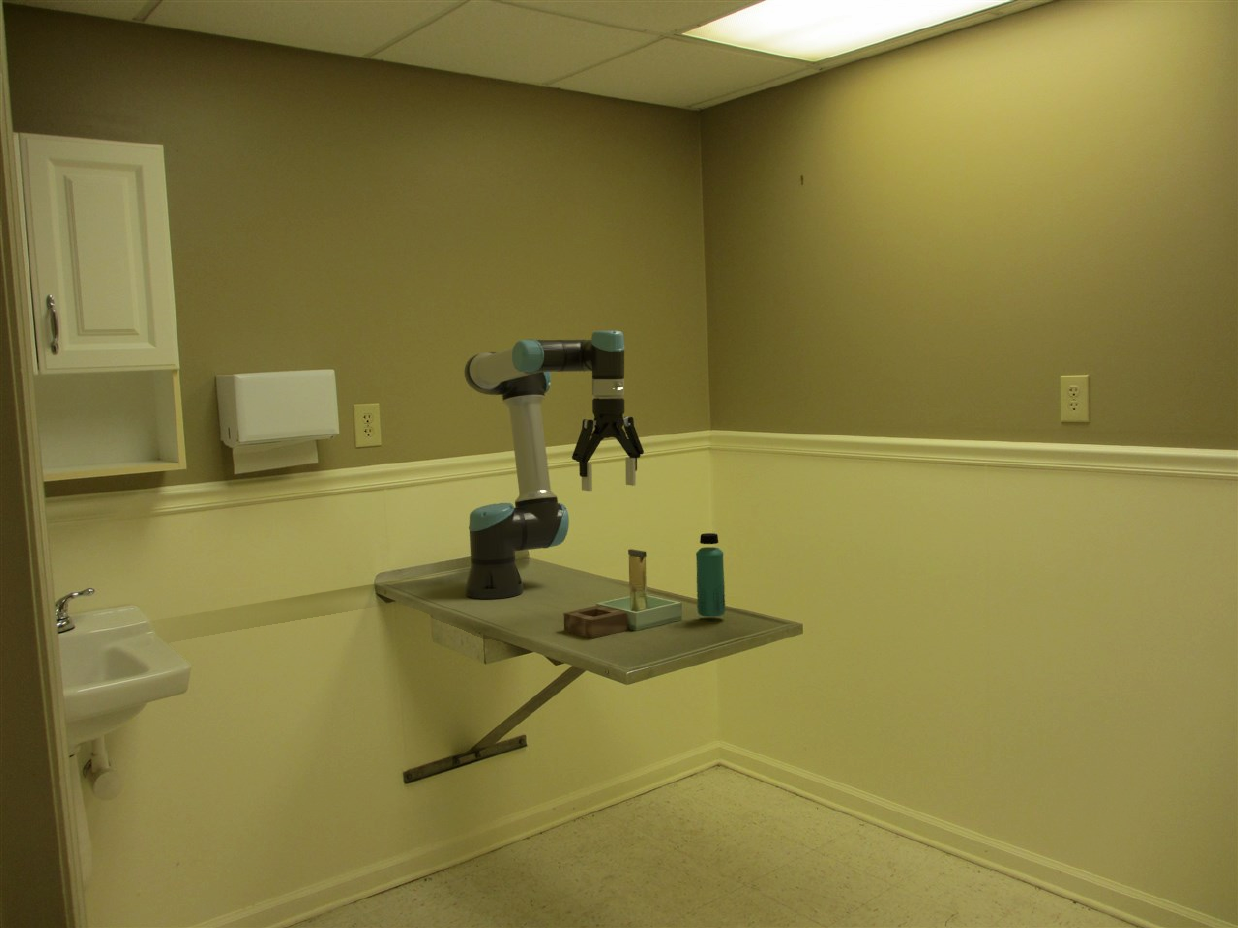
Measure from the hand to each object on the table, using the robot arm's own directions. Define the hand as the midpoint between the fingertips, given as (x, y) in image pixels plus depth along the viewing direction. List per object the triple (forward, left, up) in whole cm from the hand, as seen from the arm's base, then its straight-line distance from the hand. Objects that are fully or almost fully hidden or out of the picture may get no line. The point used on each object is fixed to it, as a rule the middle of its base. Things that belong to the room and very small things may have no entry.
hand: (609, 488), depth 234 cm
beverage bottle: (+21, +12, -30) cm, 39 cm away
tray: (+9, 0, -30) cm, 31 cm away
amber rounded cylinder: (+9, 0, -29) cm, 30 cm away
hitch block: (+9, -13, -30) cm, 34 cm away
